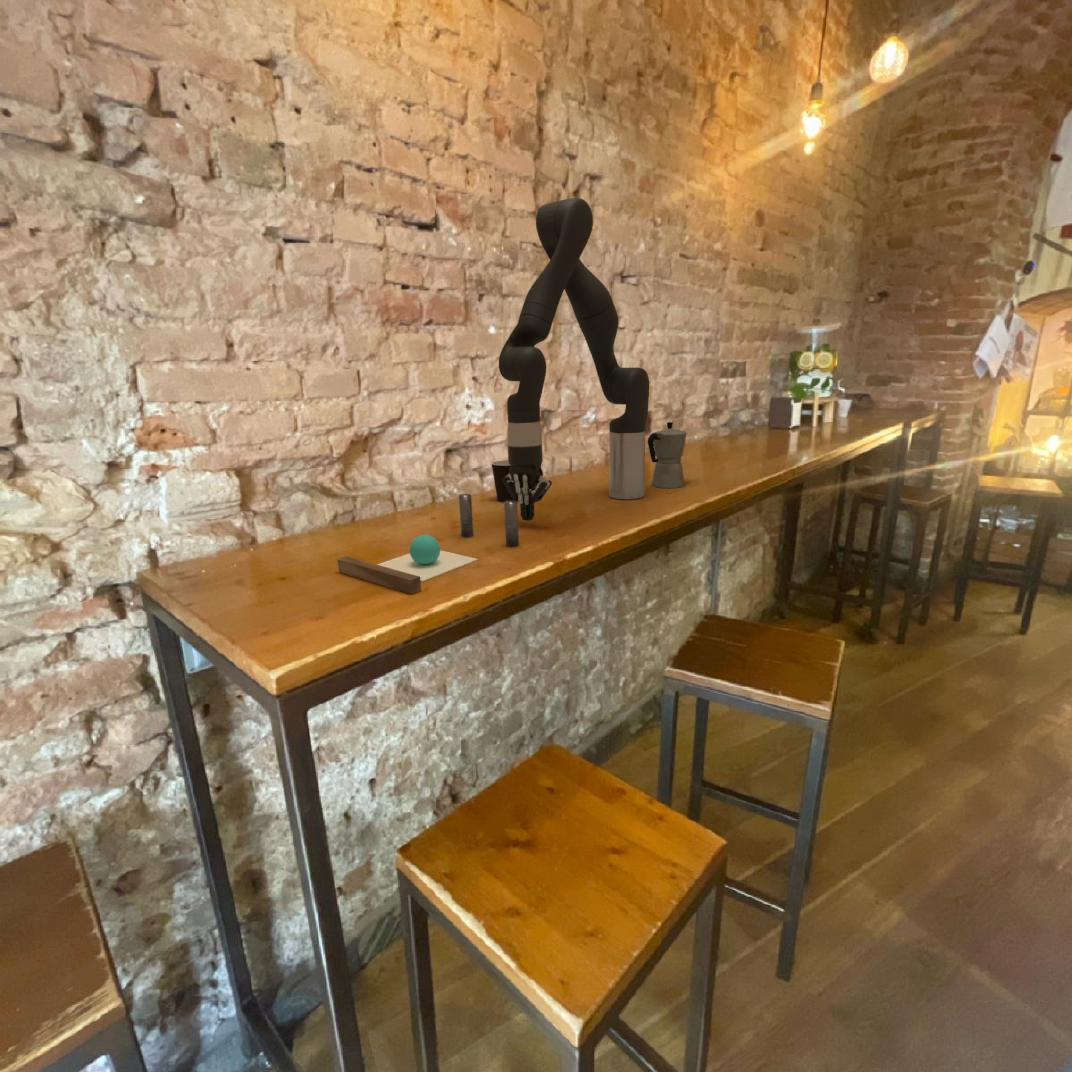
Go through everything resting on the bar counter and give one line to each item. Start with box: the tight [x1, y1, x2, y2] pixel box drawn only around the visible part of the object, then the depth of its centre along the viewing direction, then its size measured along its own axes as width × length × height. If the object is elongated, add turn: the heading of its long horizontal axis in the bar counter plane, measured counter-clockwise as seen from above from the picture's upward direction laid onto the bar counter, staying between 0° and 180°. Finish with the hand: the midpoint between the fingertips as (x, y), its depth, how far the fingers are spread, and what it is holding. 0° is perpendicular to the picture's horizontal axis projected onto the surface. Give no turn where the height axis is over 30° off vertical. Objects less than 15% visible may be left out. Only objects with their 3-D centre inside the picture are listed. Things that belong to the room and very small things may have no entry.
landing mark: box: [376, 549, 479, 583], centre depth 116 cm, size 14×14×1 cm
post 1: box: [458, 493, 474, 538], centre depth 132 cm, size 3×3×9 cm
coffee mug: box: [491, 459, 518, 503], centre depth 164 cm, size 12×9×10 cm
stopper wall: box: [337, 555, 422, 595], centre depth 107 cm, size 2×20×2 cm, turn 52°
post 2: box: [503, 500, 520, 548], centre depth 124 cm, size 3×3×9 cm
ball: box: [409, 534, 441, 565], centre depth 115 cm, size 6×6×6 cm
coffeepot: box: [647, 421, 688, 490], centre depth 173 cm, size 15×9×18 cm, turn 129°
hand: (527, 519), depth 139 cm, fingers closed
